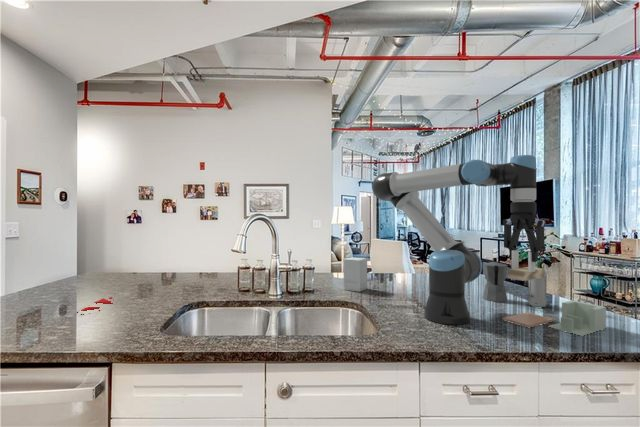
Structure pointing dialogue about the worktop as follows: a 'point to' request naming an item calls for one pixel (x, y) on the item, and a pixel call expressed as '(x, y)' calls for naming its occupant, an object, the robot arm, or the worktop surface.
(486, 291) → the coffeepot
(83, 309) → the cloth
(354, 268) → the supplement box
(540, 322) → the terracotta tile
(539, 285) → the energy drink can
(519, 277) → the beech bar
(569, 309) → the pocket block
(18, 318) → the worktop surface
